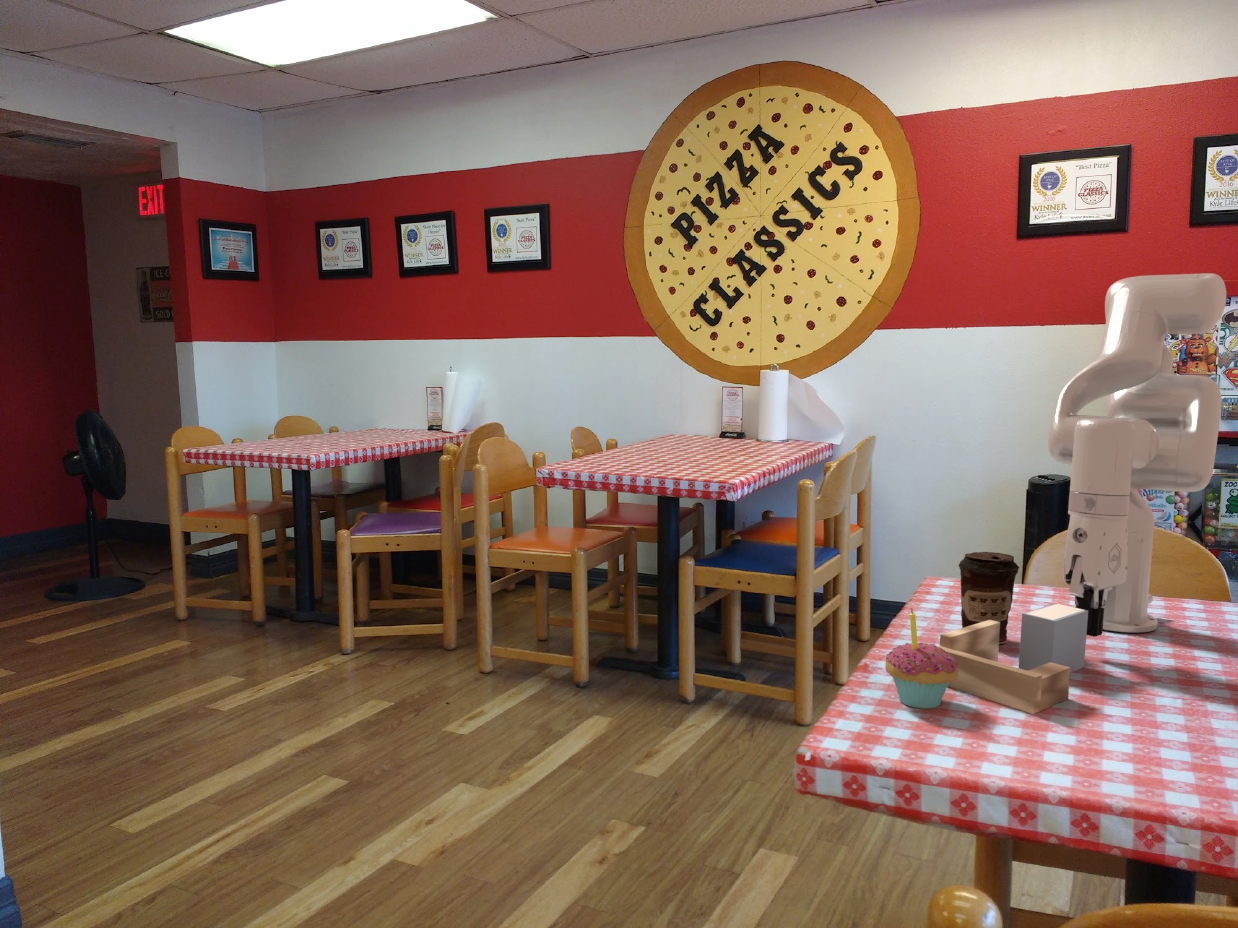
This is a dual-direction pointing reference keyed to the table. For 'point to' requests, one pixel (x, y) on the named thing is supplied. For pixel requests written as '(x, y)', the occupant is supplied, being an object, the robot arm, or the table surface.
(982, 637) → the rack
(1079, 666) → the grey rectangular block
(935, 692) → the cupcake
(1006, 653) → the table surface
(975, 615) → the coffee cup
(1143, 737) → the table surface
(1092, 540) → the robot arm
